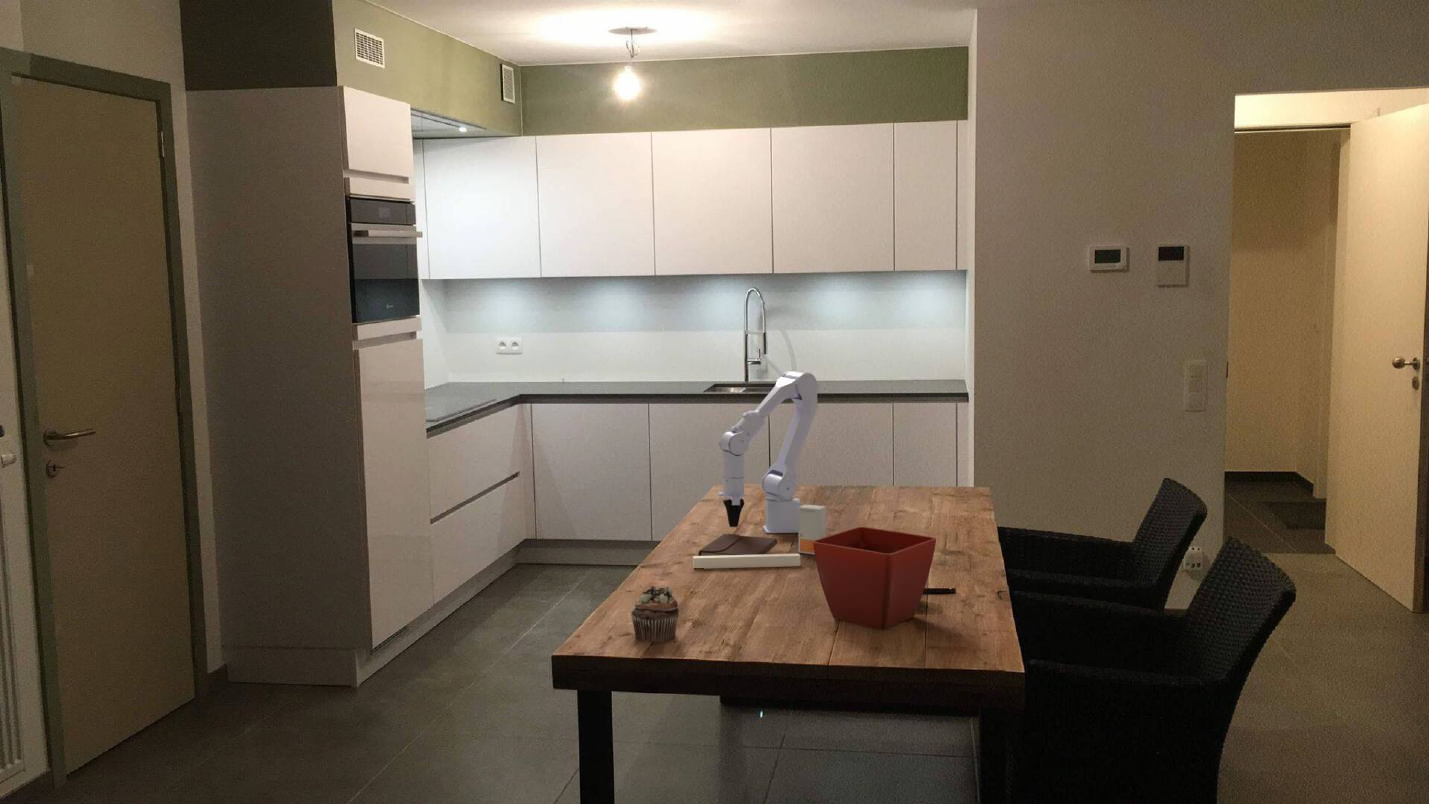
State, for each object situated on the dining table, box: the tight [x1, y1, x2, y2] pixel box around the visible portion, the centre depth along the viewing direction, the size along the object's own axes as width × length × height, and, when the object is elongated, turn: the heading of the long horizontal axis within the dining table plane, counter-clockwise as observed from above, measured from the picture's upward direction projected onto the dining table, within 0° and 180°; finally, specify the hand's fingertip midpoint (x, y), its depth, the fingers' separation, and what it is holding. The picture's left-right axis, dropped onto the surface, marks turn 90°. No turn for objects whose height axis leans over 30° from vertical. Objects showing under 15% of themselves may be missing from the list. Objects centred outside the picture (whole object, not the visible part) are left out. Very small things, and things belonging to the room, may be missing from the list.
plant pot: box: [813, 526, 937, 630], centre depth 260 cm, size 19×19×17 cm
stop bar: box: [692, 553, 801, 569], centre depth 303 cm, size 26×2×3 cm, turn 95°
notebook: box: [698, 533, 778, 556], centre depth 321 cm, size 15×20×2 cm
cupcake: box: [630, 585, 680, 643], centre depth 249 cm, size 10×10×10 cm
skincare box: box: [797, 504, 827, 556], centre depth 316 cm, size 6×4×12 cm
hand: (733, 526), depth 335 cm, fingers closed
